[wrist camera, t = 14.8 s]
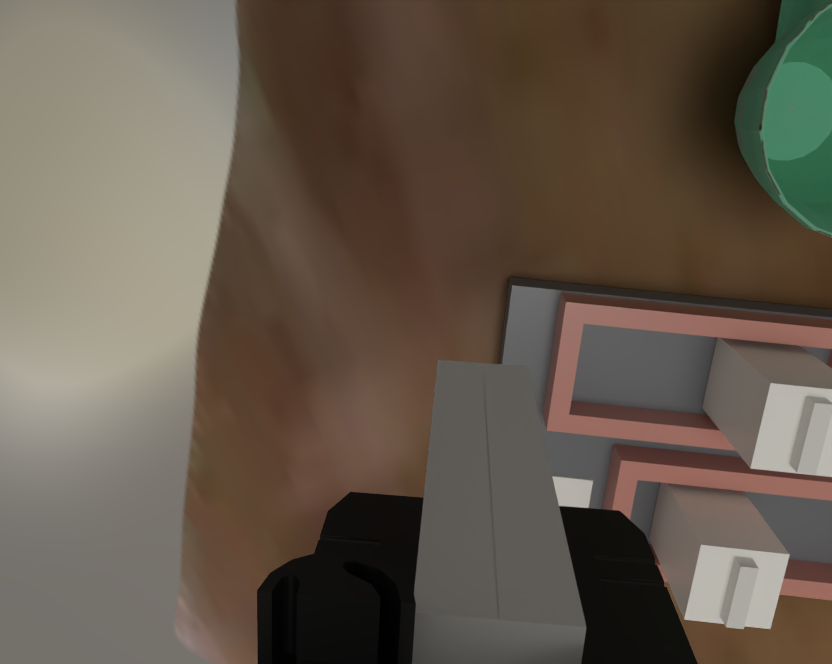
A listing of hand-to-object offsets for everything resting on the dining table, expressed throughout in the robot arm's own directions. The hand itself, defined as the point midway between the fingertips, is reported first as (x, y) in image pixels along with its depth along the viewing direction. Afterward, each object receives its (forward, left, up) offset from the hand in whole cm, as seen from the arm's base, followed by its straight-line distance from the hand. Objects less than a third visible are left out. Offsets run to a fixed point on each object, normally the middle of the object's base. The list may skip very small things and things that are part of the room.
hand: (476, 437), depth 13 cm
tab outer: (+15, +14, -26) cm, 33 cm away
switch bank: (+11, +15, -28) cm, 34 cm away
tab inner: (+7, +15, -26) cm, 31 cm away
